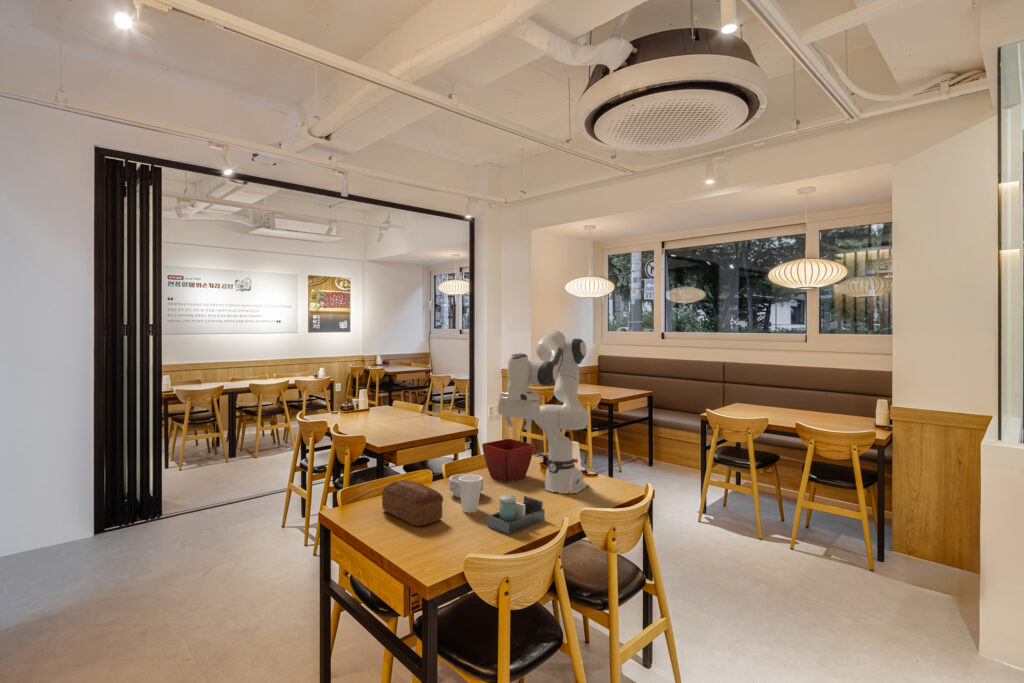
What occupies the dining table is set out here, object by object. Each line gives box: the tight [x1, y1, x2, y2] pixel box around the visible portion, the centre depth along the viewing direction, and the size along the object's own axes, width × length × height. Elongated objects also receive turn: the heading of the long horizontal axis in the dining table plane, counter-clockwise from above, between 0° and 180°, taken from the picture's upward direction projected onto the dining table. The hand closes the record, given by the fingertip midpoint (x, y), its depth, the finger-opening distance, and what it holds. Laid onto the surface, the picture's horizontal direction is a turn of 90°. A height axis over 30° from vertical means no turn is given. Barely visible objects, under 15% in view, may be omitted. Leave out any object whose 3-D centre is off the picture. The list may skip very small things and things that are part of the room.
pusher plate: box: [515, 501, 525, 520], centre depth 184 cm, size 1×8×7 cm, turn 46°
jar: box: [498, 494, 517, 522], centre depth 181 cm, size 6×6×10 cm
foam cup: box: [459, 474, 483, 514], centre depth 198 cm, size 10×9×13 cm
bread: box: [381, 479, 444, 527], centre depth 191 cm, size 14×28×12 cm, turn 45°
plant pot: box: [481, 438, 535, 483], centre depth 245 cm, size 19×19×17 cm
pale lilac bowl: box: [448, 473, 484, 499], centre depth 216 cm, size 15×15×8 cm
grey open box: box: [486, 495, 546, 536], centre depth 185 cm, size 20×11×7 cm, turn 137°
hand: (518, 428), depth 198 cm, fingers open, 8 cm apart
